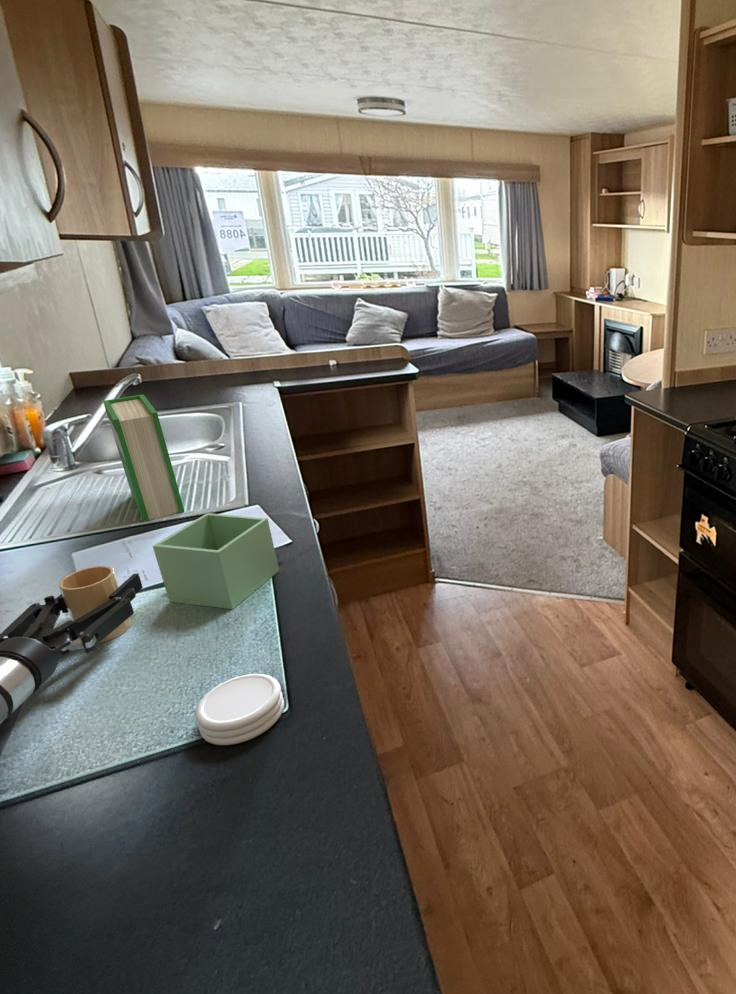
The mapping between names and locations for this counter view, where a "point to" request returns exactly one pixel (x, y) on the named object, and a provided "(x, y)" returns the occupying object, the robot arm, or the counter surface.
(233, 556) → the bin
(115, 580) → the tan hollow cylinder
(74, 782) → the counter surface
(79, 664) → the counter surface
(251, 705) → the coaster
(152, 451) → the hardback book
